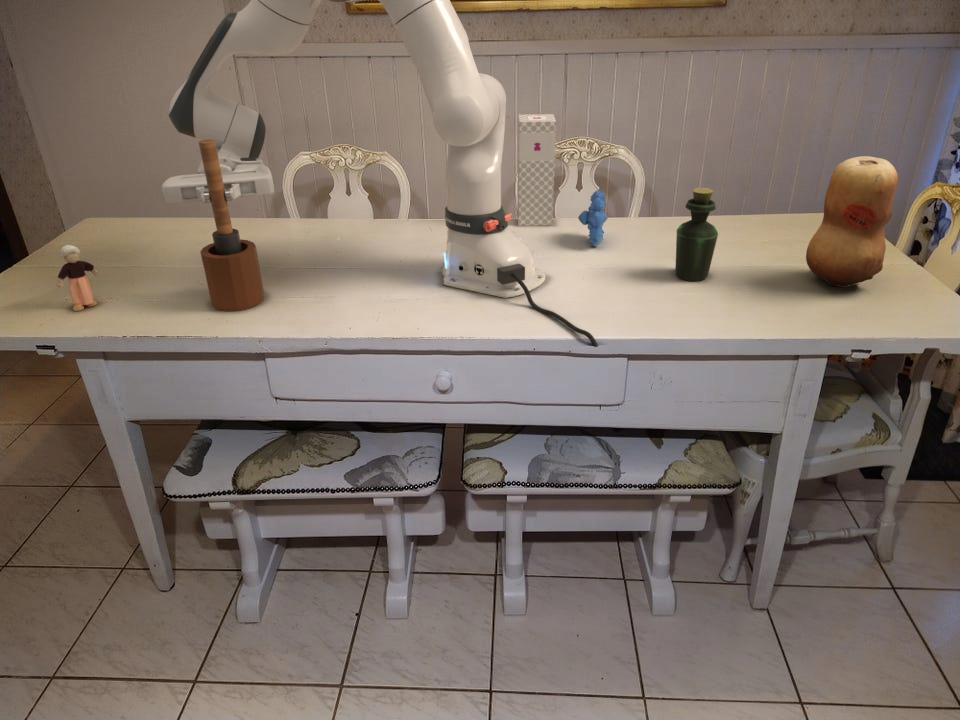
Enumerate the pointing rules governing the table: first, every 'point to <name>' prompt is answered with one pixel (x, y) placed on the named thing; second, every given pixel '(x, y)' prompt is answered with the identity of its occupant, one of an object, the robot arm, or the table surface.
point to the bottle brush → (219, 202)
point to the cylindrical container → (233, 277)
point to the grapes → (595, 218)
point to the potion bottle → (696, 238)
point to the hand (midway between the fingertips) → (217, 197)
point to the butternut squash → (854, 222)
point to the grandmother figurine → (77, 277)
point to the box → (536, 169)
